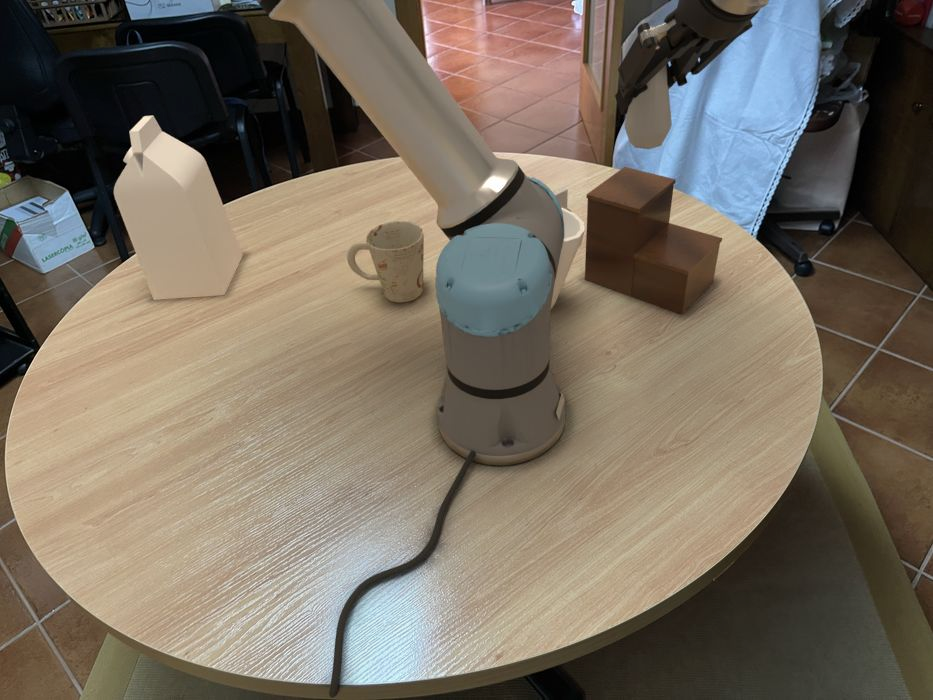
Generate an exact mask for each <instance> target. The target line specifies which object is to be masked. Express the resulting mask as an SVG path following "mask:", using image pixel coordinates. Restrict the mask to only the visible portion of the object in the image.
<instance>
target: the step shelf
mask: <svg viewBox="0 0 933 700" xmlns="http://www.w3.org/2000/svg"><path fill="white" fill-rule="evenodd" d="M675 184H676V178H673V177H667V176H664V175H660V174H656V173H652V172H647V171H643V170H639V169H637V168H636V169H635V168H632V167H627V166H623V167H622V168H621V169H619V170H618V171H616V172H615V173H614V174H613V175H611V176H610V177H608V178H607V179H606V180H604V181H603V182H602V183H600V184H599V185H597V186H596V187H595V188H593V189H592V190H591V191H588V193H586V195H585V196H586V199H587V208H586V209H587V210H586V213H587V214H586V231H585V232H586V236H585V261H584V262H585V263H584V280H585V281H587V282H591V283H593V284H596V285H599V286H601V287H605V288H606V289H610V290H613V291H615V292H618V293H621V294H623V295H625V296H626V295H627V296H630V297H632V298H635V299H638V300H641V301H644V302H647V303H648V304H652V305H655V306H658V307H661V308H663V309H665V310H669V311H672V312H674V313H678V314H681V315H683V314H684V313H685V312H686V311H687V310H688V309H689V308H690V306H691V305H693V303H694V302H695V301H696V300H697V299H698V298H699V297H700V296H701V295H702V294H703V293H704V292H705V291H706V290H707V289H708V287H710V285H712V283H714V280H715V274H716V267H717V263H718V257H719V251H720V245H721V243H722V242H723V238H722V237H720V236H716V235H714V234H713V235H712V234H709V233H705V232H702V231H700V230H699V231H698V230H695V229H692V228H689V227H685V226H681V225H678V224H674V223H671V222H670V221H671V219H670V218H671V211H672V201H673V194H674V185H675Z"/></svg>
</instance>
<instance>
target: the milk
mask: <svg viewBox="0 0 933 700" xmlns="http://www.w3.org/2000/svg"><path fill="white" fill-rule="evenodd" d="M129 139H130V145H131V146H130V148H129V149H128V151H126V154H125V156H124V158H123V159H122V161H123V162H124V163H125V164H126V165H125V167H124V169H122V171H121V173H120V175H119V176H118V178H117V180H116V182H115V183H114V187H113V196H114V200H115V203H116V205H117V207H118V210H119V212H120V215H121V218H122V221H123V223H124V226H125V229H126V231H127V233H128V237H129V239H130V241H131V244H132V247H133V249H134V252H135V255H136V257H137V260H138V263H139V266H140V268H141V271H142V273H143V275H144V279H145V280H146V283H147V286H148V288H149V289H148V290H149V292H150V294H151V296H152V299H153V301H157V300H159V301H160V300H172V299H173V300H174V299H189V298H202V297H217V296H225V295H226V293H227V291H228V289H229V287H230V285H231V282H232V280H233V278H234V276H235V274H236V272H237V269H238V267H239V265H240V263H241V261H242V259H243V257H244V254H243V252H242V250H241V246H240V244H239V242H238V239H237V237H236V234H235V232H234V229H233V226H232V224H231V222H230V219H229V216H228V214H227V211H226V209H225V206H224V203H223V201H222V198H221V196H220V194H219V191H218V188H217V186H216V184H215V181H214V178H213V176H212V173H211V171H210V168H209V166H208V164H207V161H206V159H205V157H204V156H203V155H202V154H201V153H200V152H199V151H198V150H196V149H194V147H191V146H189V145H188V144H186V143H184V142H182V141H180V140H179V139H177V138H175V137H174V136H171V135H170V134H168V133H166V132H165V131H163V130H162V128H161V126H160V125H159V123H158V121H157V120H156V117H155V116H154V115H144V116H142V118H141V119H140V120H139V121H138V122H137V123H136V124H135V125H134V126H133V127H132V128H131V129H130V130H129Z"/></svg>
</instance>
